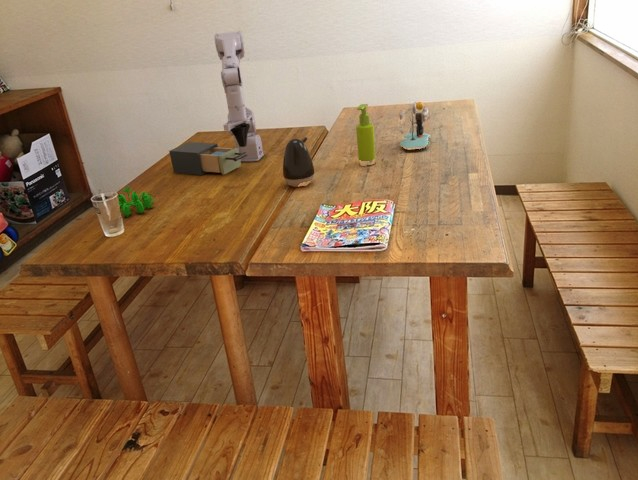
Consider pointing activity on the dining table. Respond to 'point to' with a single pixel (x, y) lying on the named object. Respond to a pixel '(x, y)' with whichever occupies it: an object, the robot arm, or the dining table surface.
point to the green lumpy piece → (135, 202)
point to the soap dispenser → (365, 136)
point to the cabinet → (189, 157)
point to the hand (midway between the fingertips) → (242, 146)
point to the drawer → (221, 160)
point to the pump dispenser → (297, 163)
